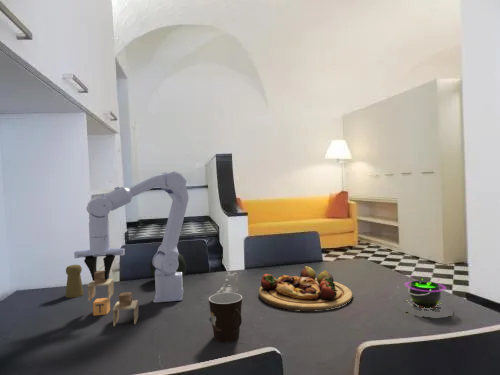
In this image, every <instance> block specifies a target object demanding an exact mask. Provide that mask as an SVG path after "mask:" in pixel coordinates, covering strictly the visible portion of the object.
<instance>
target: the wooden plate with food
mask: <svg viewBox="0 0 500 375" xmlns="http://www.w3.org/2000/svg"><path fill="white" fill-rule="evenodd" d="M316 276H317V278H316ZM258 296H259V297H260V300H262V301H263V302H264V303H265V304H267V305H270V306H271V307H274V306H275V307H274V308H277V307H278V308H277V309H281V308H283V309H282V310H285V309H288V310H287V311H291V310H300V311H315V310H326V309H331V308H335V307H339V306H342V305H344V304H346V303H348V302H349V301H350V300H351V299H352V300H353V298H354V297H353V296H354V294H353V292H352V291H351V289H350V288H349V287H347V286H346V285H344V284H341V283H339V282H337V281H335V280H334V277H333V275H332V274H331V273H330V272H329V271H327V270H323V271H322V272H321V271H320V273H319V274H318V275H317V274H316V272H315V270H314V269H313V268H311V267H310V266H308V265H307V266H304V267H303V268H302V269H301V271H300V276H298V275H294V276H290V275H284V274H283V275H281V276H280V277H278V278H277V277H275V276H274V275H272V274H269V273H265V274H263V275H262V277H261V278H260V287H259V288H258ZM352 297H353V298H352ZM300 311H299V312H300Z"/></svg>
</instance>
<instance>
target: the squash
mask: <svg viewBox="0 0 500 375" xmlns="http://www.w3.org/2000/svg"><path fill="white" fill-rule="evenodd" d="M178 253H179V252H178ZM152 261H153V258H152V259H151V260H150V264H149V271H150V274H151V277H152V278H153V279H154V280H155V271H156V268H155V267H154V266H153V263H152ZM178 262H179V266H178V269H177V270H176V272H182V279H183V278H184V276H185V275H186V272H187V264H186V260H185V257H184V256H183V255H182V254H181V253H179V255H178Z"/></svg>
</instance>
